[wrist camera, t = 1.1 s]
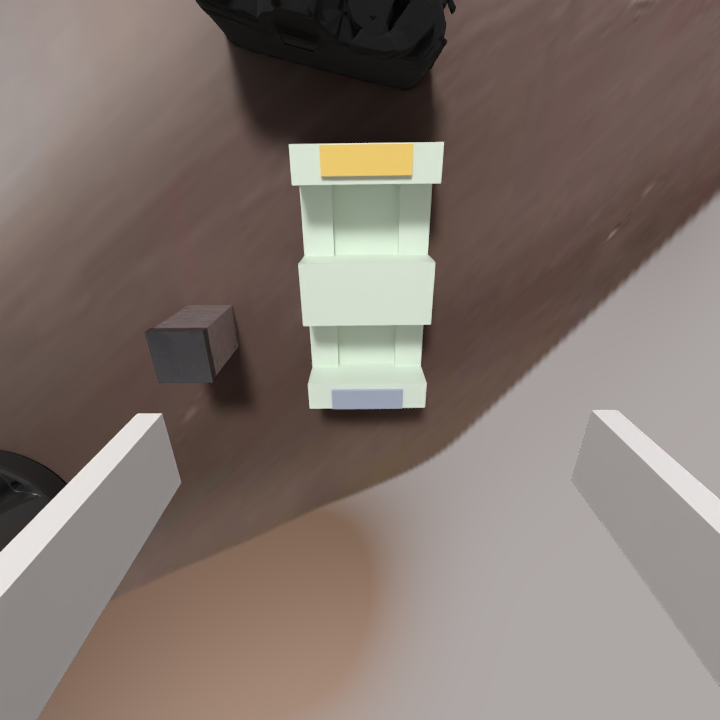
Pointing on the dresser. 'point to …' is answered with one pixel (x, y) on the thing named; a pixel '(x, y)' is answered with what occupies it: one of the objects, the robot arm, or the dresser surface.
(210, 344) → the plug
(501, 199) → the dresser surface
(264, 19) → the film camera
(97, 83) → the dresser surface
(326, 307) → the socket block
